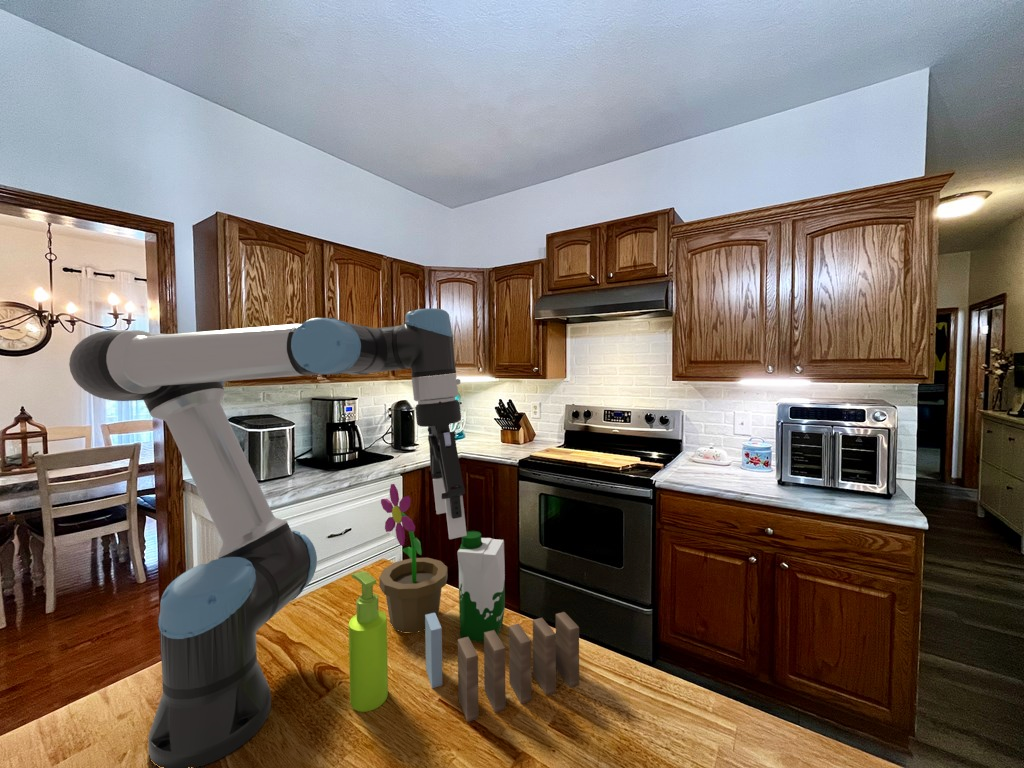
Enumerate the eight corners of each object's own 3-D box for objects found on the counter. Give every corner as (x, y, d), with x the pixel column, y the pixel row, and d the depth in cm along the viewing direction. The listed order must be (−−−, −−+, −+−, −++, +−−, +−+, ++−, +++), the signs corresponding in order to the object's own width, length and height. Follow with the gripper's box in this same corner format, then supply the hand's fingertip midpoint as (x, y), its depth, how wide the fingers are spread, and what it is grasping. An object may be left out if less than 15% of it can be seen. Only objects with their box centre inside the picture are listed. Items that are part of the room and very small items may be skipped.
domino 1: (431, 688, 72) (431, 630, 72) (425, 669, 77) (425, 614, 77) (442, 685, 73) (441, 628, 73) (435, 666, 78) (435, 612, 77)
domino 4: (521, 704, 69) (520, 643, 68) (509, 683, 73) (509, 626, 73) (531, 700, 70) (531, 640, 69) (518, 680, 74) (518, 623, 74)
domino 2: (467, 722, 65) (466, 658, 65) (458, 698, 70) (457, 639, 70) (478, 718, 66) (477, 655, 66) (468, 695, 71) (468, 636, 70)
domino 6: (569, 687, 72) (569, 629, 72) (555, 668, 77) (555, 614, 77) (579, 684, 73) (579, 627, 73) (564, 665, 78) (564, 611, 77)
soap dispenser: (374, 676, 75) (372, 564, 74) (394, 697, 70) (392, 578, 70) (341, 694, 71) (338, 575, 70) (360, 718, 66) (357, 591, 65)
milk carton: (467, 616, 93) (466, 525, 92) (508, 621, 91) (507, 528, 90) (454, 642, 84) (453, 542, 84) (499, 647, 83) (498, 545, 82)
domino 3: (494, 712, 67) (494, 650, 67) (484, 690, 72) (484, 632, 71) (505, 709, 68) (505, 647, 67) (494, 687, 72) (494, 629, 72)
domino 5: (546, 695, 71) (545, 636, 70) (533, 675, 75) (532, 620, 75) (555, 692, 71) (555, 633, 71) (542, 672, 76) (542, 617, 75)
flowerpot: (367, 620, 92) (364, 482, 91) (422, 593, 103) (420, 469, 101) (405, 649, 82) (402, 495, 81) (461, 617, 93) (460, 480, 92)
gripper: (475, 400, 62) (490, 544, 63) (446, 396, 86) (457, 500, 87) (423, 406, 60) (439, 555, 61) (408, 401, 84) (420, 508, 84)
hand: (450, 523), depth 74 cm, fingers open, 13 cm apart
